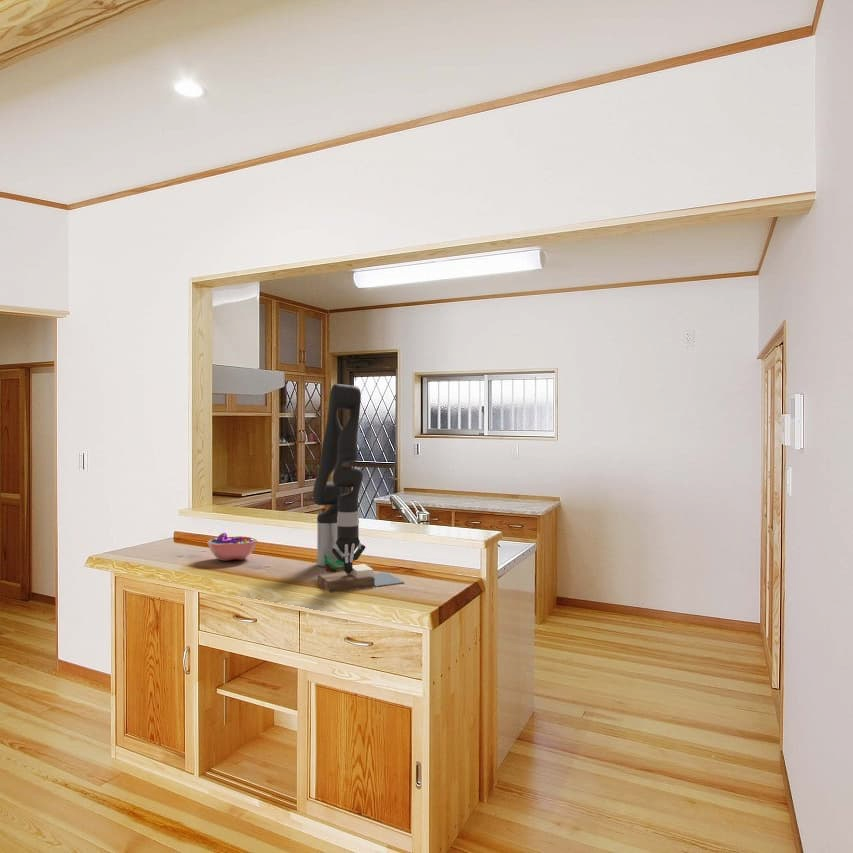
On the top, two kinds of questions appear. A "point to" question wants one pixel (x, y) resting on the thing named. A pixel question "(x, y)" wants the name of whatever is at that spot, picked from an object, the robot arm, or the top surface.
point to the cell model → (231, 547)
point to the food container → (332, 562)
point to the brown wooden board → (343, 581)
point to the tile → (361, 571)
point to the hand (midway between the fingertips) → (347, 572)
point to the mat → (385, 579)
